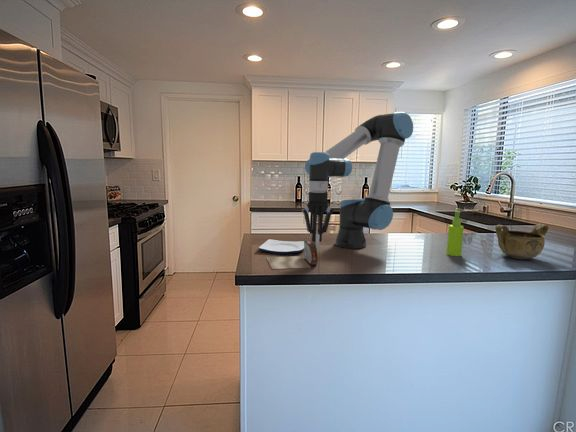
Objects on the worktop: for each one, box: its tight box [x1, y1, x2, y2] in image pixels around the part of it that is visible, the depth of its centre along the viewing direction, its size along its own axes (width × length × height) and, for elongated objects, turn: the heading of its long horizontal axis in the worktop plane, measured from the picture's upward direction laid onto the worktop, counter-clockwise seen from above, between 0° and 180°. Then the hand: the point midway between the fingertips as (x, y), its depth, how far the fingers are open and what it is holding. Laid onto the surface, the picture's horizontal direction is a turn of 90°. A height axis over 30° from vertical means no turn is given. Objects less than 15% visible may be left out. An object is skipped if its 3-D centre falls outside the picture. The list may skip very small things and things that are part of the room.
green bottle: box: [446, 209, 465, 257], centre depth 150 cm, size 6×7×20 cm
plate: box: [258, 238, 305, 255], centre depth 156 cm, size 20×20×3 cm
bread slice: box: [303, 239, 319, 266], centre depth 136 cm, size 15×3×8 cm, turn 9°
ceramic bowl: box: [495, 223, 549, 260], centre depth 146 cm, size 22×17×15 cm
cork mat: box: [265, 255, 312, 271], centre depth 135 cm, size 15×16×1 cm
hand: (316, 249), depth 136 cm, fingers closed
